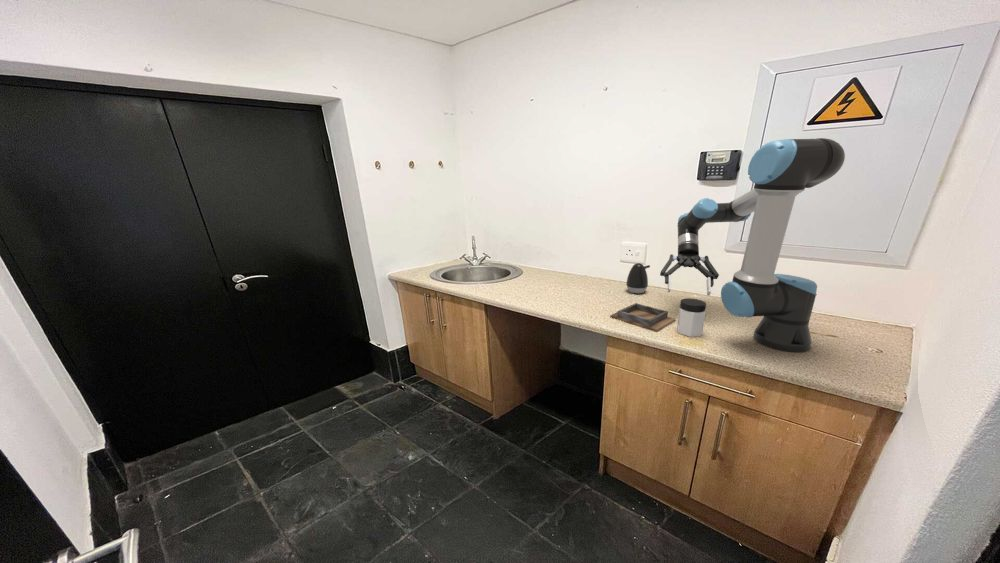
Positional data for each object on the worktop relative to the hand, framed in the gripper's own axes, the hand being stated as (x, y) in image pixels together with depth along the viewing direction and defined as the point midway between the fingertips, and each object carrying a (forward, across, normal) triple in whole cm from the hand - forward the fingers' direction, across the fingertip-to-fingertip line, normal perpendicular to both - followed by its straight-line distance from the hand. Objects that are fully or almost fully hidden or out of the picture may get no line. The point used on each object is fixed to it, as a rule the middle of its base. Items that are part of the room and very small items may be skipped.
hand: (688, 292), depth 128 cm
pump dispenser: (-16, +18, -35) cm, 42 cm away
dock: (+10, +16, -8) cm, 20 cm away
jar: (+15, 0, -3) cm, 16 cm away
